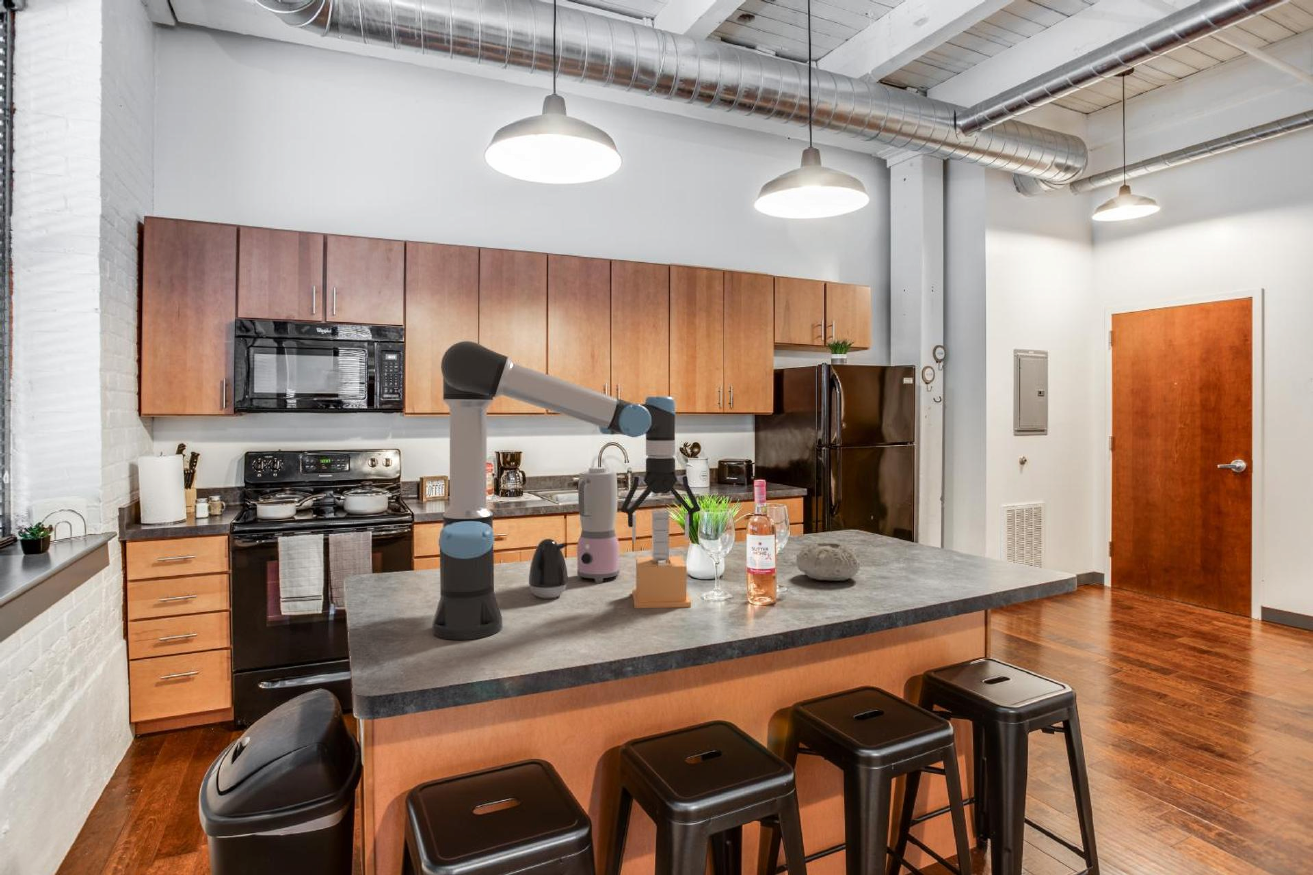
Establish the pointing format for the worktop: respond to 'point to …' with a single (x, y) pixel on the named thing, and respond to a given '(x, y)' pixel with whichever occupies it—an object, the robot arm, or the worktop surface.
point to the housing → (660, 583)
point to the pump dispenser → (548, 570)
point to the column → (660, 536)
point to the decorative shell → (828, 561)
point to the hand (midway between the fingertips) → (660, 539)
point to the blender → (597, 525)
